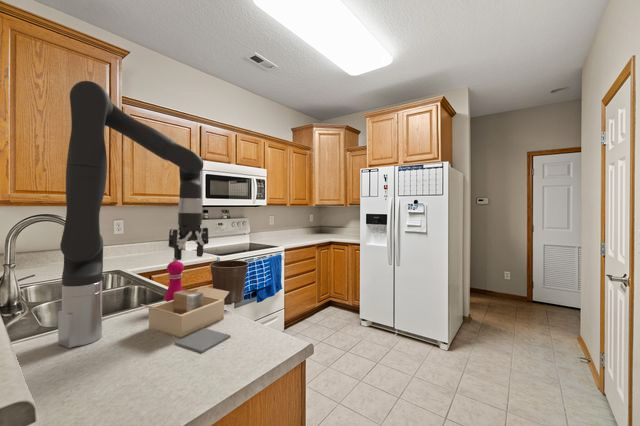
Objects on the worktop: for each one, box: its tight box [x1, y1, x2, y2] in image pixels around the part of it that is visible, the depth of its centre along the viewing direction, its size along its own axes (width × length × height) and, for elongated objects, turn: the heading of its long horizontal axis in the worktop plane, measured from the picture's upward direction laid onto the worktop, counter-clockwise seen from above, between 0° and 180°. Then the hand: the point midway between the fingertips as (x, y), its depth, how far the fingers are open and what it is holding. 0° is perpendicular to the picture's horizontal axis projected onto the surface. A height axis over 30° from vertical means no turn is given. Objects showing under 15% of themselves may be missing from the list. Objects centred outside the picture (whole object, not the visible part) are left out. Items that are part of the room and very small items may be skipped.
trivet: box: [174, 327, 231, 354], centre depth 87 cm, size 11×11×1 cm
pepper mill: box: [164, 257, 185, 302], centre depth 113 cm, size 7×7×20 cm
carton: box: [140, 285, 229, 340], centre depth 99 cm, size 24×16×9 cm, turn 154°
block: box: [173, 289, 203, 315], centre depth 99 cm, size 4×9×10 cm, turn 64°
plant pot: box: [208, 259, 250, 306], centre depth 123 cm, size 16×16×16 cm
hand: (189, 258), depth 100 cm, fingers open, 8 cm apart
